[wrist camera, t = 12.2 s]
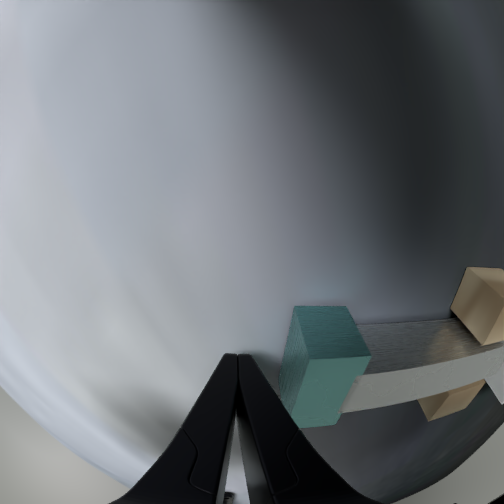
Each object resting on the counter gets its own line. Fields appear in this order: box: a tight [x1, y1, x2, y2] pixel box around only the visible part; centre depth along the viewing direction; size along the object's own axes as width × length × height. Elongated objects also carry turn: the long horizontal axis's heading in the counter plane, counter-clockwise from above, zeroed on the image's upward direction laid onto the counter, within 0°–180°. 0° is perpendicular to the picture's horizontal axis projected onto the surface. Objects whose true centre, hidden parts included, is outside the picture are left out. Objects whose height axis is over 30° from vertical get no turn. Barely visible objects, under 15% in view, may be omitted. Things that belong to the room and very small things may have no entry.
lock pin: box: [278, 306, 504, 428], centre depth 9 cm, size 4×11×2 cm, turn 85°
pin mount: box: [417, 267, 504, 421], centre depth 9 cm, size 7×3×3 cm, turn 175°
